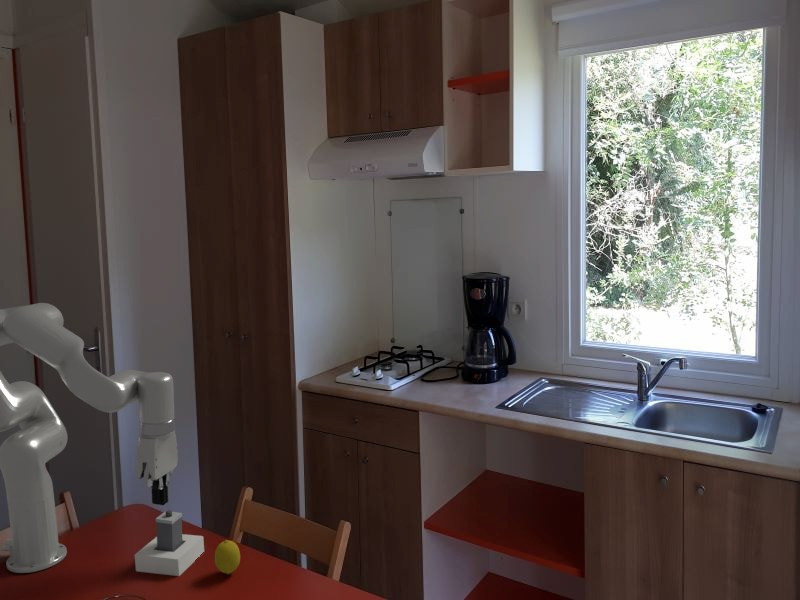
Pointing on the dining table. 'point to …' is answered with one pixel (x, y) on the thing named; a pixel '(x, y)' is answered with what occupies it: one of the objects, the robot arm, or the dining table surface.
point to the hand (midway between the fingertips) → (160, 503)
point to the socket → (169, 556)
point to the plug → (169, 531)
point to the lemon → (227, 556)
